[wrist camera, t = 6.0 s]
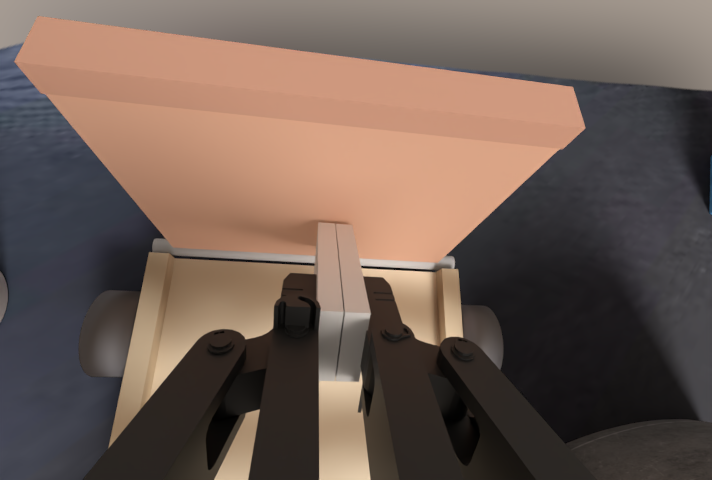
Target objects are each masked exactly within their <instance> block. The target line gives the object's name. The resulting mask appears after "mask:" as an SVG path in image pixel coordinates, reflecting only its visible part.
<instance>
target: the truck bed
mask: <svg viewBox="0 0 712 480" xmlns="http://www.w3.org/2000/svg"><path fill="white" fill-rule="evenodd" d="M361 269H362V274H363V276H368V277H383V278H384V279H385V280H386V281H387V282H388V283H389V284H390V286H391V289H392V292H393V295H394V298H395V301H396V304H397V307H398V310H399V313H400V316H401V320H402V323H403V324H405V325H407V326H408V327H409V328H410V329H411V330H412V332H413V333H414V335H415V338H416V339H418V340H420V341H423V342H426V343H429V344H433V345H437V346H440V344H441V342H442V341H443V340H444V339H445V338H448V337H461V338H465V339H468V340H470V341H472V342H474V343H475V344H476V345H478V346H479V347H480V348H481V349H482V350H483V351H484V352H485V354H486V355H487V356H488V357H489V358H490V359H491V360H492V361H493V363H494V364H495V365H496V366H497V367H498V368H499V369H501V366H502V361H503V337H502V332H501V328H500V325H499V322H498V320H497V317H496V316H495V314H494V313H493V311H492V310H491V309H490V308H488V307H487V306H480V305H461V299H460V286H459V273H458V269H444V268H442V269H440V270H439V271H437V272H420V271H401V270H383V269H364V268H361ZM290 273H303V274H314V266H308V265H290V264H271V263H253V262H234V261H215V260H197V259H178V258H174V257H173V256H172V255H171V254H170V253H155V252H149V255H148V260H147V265H146V270H145V275H144V279H143V284H142V289H141V291H119V290H108V291H105V292H103V293H102V294H100V295H99V296H98V297H97V298H96V299H95V300H94V302H93V303H92V305H91V306H90V308H89V310H88V312H87V314H86V316H85V319H84V321H83V325H82V328H81V332H80V338H79V359H80V364H81V367H82V369H83V371H84V372H85V373H86V374H87V375H88V376H91V377H123V381H122V385H121V390H120V395H119V400H118V405H117V409H116V414H115V419H114V424H113V429H112V433H111V438H110V443H109V447H110V446H111V445H112V443H113V442H114V441H115V440H116V439H117V437H118V436H119V435H120V434H121V432H122V431H123V430H124V429H125V428H126V426H127V425H128V424H129V423H130V422H131V420H132V419H133V418H134V417H135V415H136V414H137V413H138V412H139V411H140V409H141V408H142V407H143V406H144V404H145V403H146V402H147V401H148V400H149V398H150V397H151V396H152V395H153V394H154V392H155V391H156V390H157V389H158V387H159V386H160V385H161V384H162V383H163V381H164V380H165V379H166V378H167V377H168V375H169V374H170V373H171V372H172V370H173V369H174V368H175V367H176V366H177V364H178V363H179V362H180V361H181V359H182V358H183V357H184V356H185V355H186V353H187V352H188V351H189V350H190V349H191V347H192V346H193V345H194V344H195V342H196V341H197V340H198V339H199V338H201V337H202V336H203V335H204V334H206V333H209V332H211V331H214V330H219V329H232V330H235V331H237V332H240V333H241V334H242V335H243V336H244V337H245V339H250V338H255V337H258V336H262V335H264V334H266V333H268V332H269V331H270V330H272V329H273V320H274V305H275V303H276V301H277V300H278V299H280V298H281V292H282V286H283V280H284V279H285V278H286V277H287V276H288V275H289V274H290ZM362 383H363V382H362V375H361V373H360V379H359V382H343V381H336V377H335V381H319V480H371V479H370V471H369V462H368V453H367V445H366V436H365V428H364V419H363V411H362V410H361V413H358V406H359V400H360V395H361V389H362ZM259 411H260V409H259V410H256V411H252V412H248V413H246V415H245V418H244V420H243V422H242V424H241V426H240V428H239V430H238V432H237V434H236V436H235V439H234V441H233V443H232V445H231V447H230V449H229V451H228V453H227V455H226V457H225V459H224V461H223V463H222V465H221V467H220V469H219V471H218V473H217V475H216V477H215V479H214V480H248V478H249V472H250V466H251V460H252V454H253V448H254V441H255V435H256V429H257V423H258V417H259Z"/></svg>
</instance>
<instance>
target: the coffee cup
mask: <svg viewBox="0 0 712 480" xmlns="http://www.w3.org/2000/svg"><path fill="white" fill-rule="evenodd" d="M7 302H8V288H7V284H6V281H5V278H4V276H3V275H2V273H1V272H0V322H1V320H2V318H3V316H4V314H5V311H6V307H7Z"/></svg>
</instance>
